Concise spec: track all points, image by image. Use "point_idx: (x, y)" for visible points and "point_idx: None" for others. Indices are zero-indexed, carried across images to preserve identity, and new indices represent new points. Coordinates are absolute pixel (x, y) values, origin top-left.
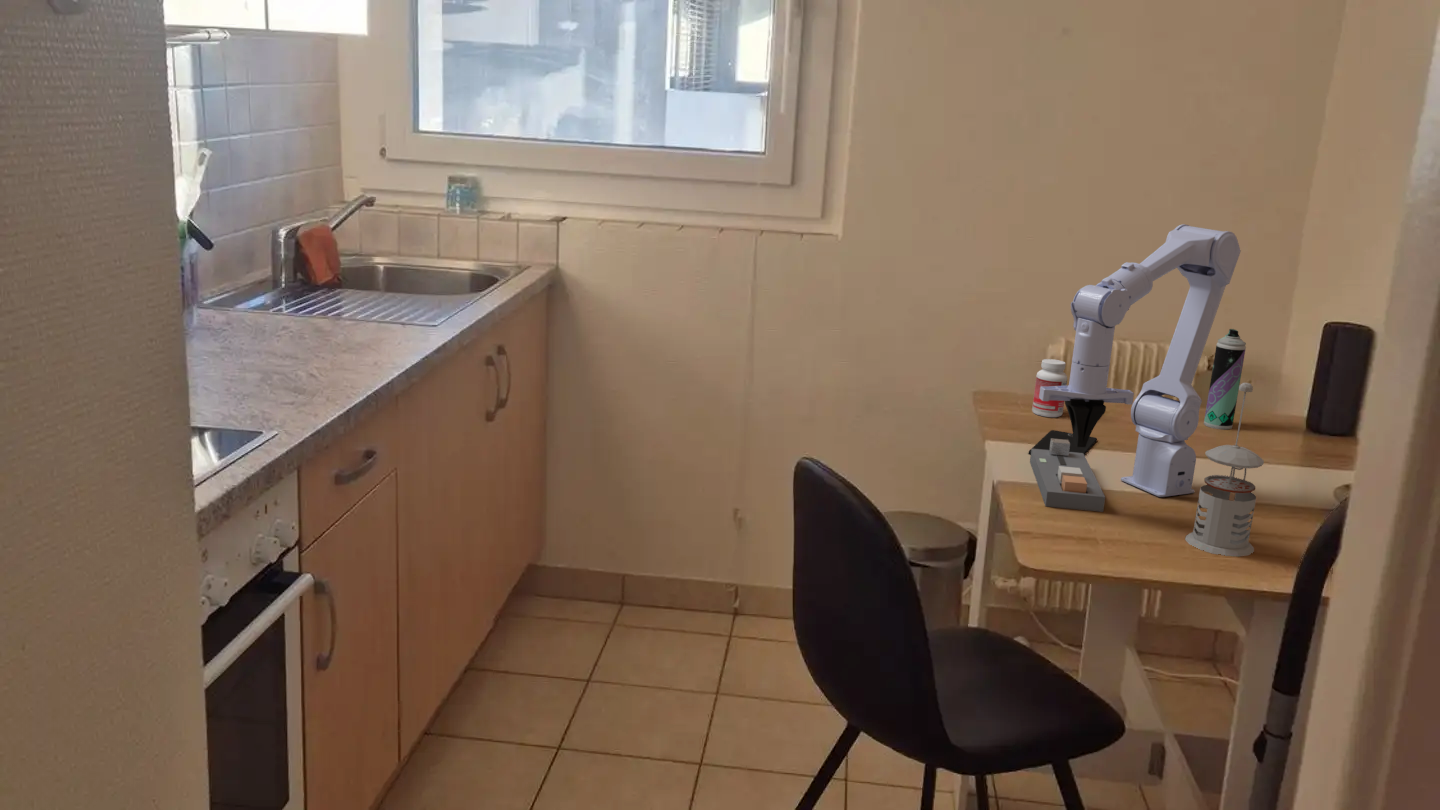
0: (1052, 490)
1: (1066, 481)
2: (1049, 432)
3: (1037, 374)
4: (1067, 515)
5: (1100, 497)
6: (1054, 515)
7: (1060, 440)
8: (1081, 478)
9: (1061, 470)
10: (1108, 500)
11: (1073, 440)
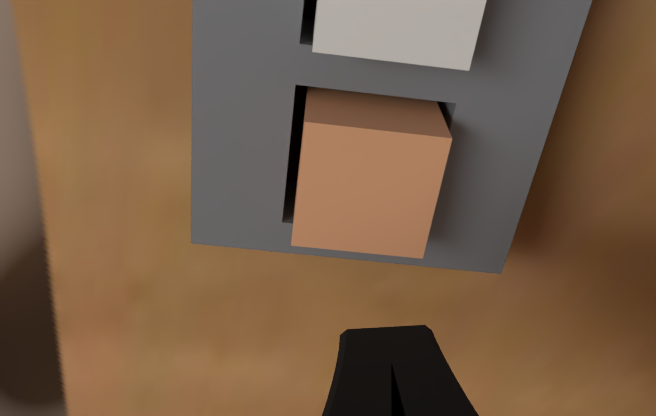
0: (223, 222)
1: (298, 240)
2: None
3: None
4: (291, 288)
5: (475, 268)
6: (231, 296)
7: None
8: (422, 167)
9: (324, 3)
10: (603, 45)
11: (338, 354)
